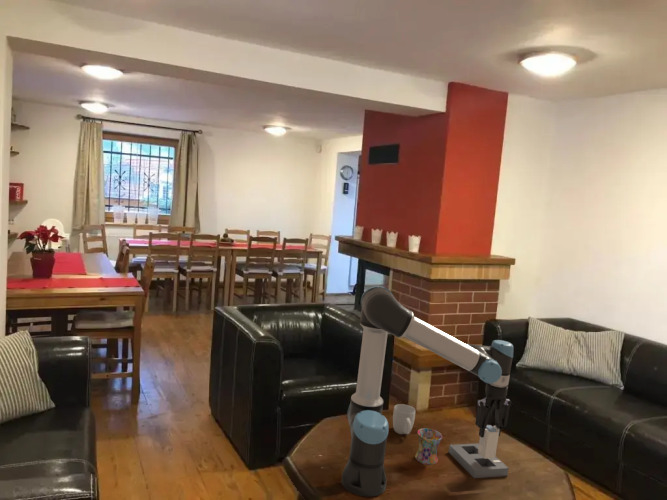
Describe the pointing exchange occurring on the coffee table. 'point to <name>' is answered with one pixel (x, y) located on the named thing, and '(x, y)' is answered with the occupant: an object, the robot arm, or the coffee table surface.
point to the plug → (489, 443)
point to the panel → (477, 461)
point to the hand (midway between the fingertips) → (488, 444)
